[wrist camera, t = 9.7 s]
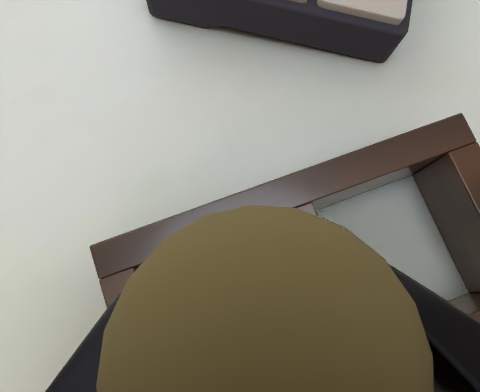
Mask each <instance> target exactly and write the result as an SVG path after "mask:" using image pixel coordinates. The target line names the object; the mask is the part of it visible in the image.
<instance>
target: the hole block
mask: <svg viewBox="0 0 480 392" xmlns="http://www.w3.org/2000/svg"><path fill="white" fill-rule="evenodd" d="M413 174H414V175H413ZM410 175H413V176H414V178H415V180H416V182H417V184H418V186H419V189H420V191H421V193H422V195H423V197H424V199H425V201H426V203H427V205H428V207H429V209H430V212H431V214H432V216H433V218H434V220H435V222H436V224H437V226H438V228H439V230H440V232H441V234H442V237H443V239H444V241H445V243H446V245H447V247H448V249H449V251H450V253H451V255H452V257H453V259H454V262H455V264H456V266H457V268H458V270H459V272H460V274H461V276H462V278H463V280H464V282H465V285H466V287H467V289H468V291H469V292H470V293H468V294H465V295H463V296H460V297H458V298H455V299H453V300H450V301H448V302H449V303H451V304H453V305H454V306H456V307H457V308H459V309H460V310H462V311H464V312H465V313H467V314H468V315H470V316H471V317H473V318H475V319H476V320H478V321H479V322H480V146H479V144H478V143H477V142H476V139H475V137H474V135H473V133H472V131H471V129H470V127H469V125H468V124H467V122H466V120H465V118H464V116H463V114H462V113H459V114H457V115H454V116H451V117H448V118H445V119H443V120H440V121H437V122H434V123H431V124H429V125H426V126H423V127H420V128H417V129H415V130H412V131H409V132H406V133H403V134H401V135H398V136H395V137H392V138H390V139H387V140H384V141H381V142H378V143H376V144H373V145H370V146H367V147H364V148H362V149H359V150H356V151H353V152H350V153H348V154H345V155H342V156H339V157H336V158H334V159H331V160H328V161H325V162H322V163H320V164H317V165H314V166H311V167H308V168H306V169H303V170H300V171H297V172H294V173H292V174H289V175H286V176H283V177H280V178H278V179H275V180H272V181H269V182H266V183H264V184H261V185H258V186H255V187H253V188H250V189H247V190H244V191H241V192H239V193H236V194H233V195H230V196H227V197H225V198H222V199H219V200H216V201H213V202H211V203H208V204H205V205H202V206H199V207H197V208H194V209H191V210H188V211H185V212H183V213H180V214H177V215H174V216H171V217H169V218H166V219H163V220H160V221H157V222H155V223H152V224H149V225H146V226H143V227H141V228H138V229H135V230H132V231H129V232H127V233H124V234H121V235H118V236H115V237H113V238H110V239H107V240H104V241H102V242H99V243H96V244H93V245H91V246H90V250H91V254H92V257H93V261H94V264H95V267H96V271H97V274H98V278H99V279H100V280H99V282H100V285H101V289H102V292H103V296H104V299H105V303H106V306H107V308H108V307H109V306H110V304H111V303H112V302H113V300H114V299H115V297H116V296H117V295H118V293H119V292H121V291H122V290H123V288H124V286H125V284H126V282H127V280H128V279H129V278H130V276H131V275H132V274H133V273H134V272H135V271H136V270H137V269H138V267H139V266H140V265H141V264H142V263H143V262H144V261H145V260H146V258H147V257H148V256H149V255H150V254H151V253H152V252H153V251H154V249H155V248H156V247H157V246H158V245H159V244H160V243H161V242H162V241H163V240H164V239H166V238H168V237H169V236H171V235H172V234H174V233H176V232H177V231H179V230H181V229H182V228H184V227H186V226H187V225H189V224H191V223H192V222H194V221H196V220H197V219H199V218H201V217H202V216H205V215H209V214H213V213H217V212H221V211H226V210H230V209H234V208H238V207H242V206H246V205H258V206H273V207H287V208H297V209H300V210H302V211H305V212H307V213H310V214H312V215H315V216H317V217H318V215H317V213H316V211H315V210H318V209H320V208H323V207H326V206H328V205H331V204H334V203H337V202H339V201H342V200H345V199H348V198H350V197H353V196H356V195H358V194H361V193H364V192H367V191H369V190H372V189H375V188H377V187H380V186H383V185H386V184H388V183H391V182H394V181H396V180H399V179H402V178H405V177H407V176H410Z"/></svg>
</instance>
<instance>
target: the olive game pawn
mask: <svg viewBox="0 0 480 392" xmlns="http://www.w3.org/2000/svg"><path fill="white" fill-rule="evenodd" d="M96 389H97V392H434V376H433V355H432V352H431V349H430V346H429V343H428V340H427V337H426V334H425V331H424V328H423V325H422V322H421V319H420V316H419V313H418V310H417V307H416V304H415V302H414V300H413V299H412V298H411V296H410V295H409V293H408V292H407V290H406V289H405V288H404V286H403V285H402V283H401V282H400V280H399V279H398V277H397V276H396V275H395V273H394V272H393V270H392V269H391V267H390V266H389V265H388V263H387V262H386V260H385V259H384V258H383V257H381V256H380V255H379V254H378V253H376V252H375V251H374V250H373V249H371V248H370V247H369V246H368V245H366V244H365V243H364V242H363V241H361V240H360V239H359V238H358V237H356V236H355V235H354V234H353V233H351V232H350V231H349V230H348V229H346V228H345V227H343V226H340V225H338V224H335V223H333V222H330V221H328V220H325V219H322V218H320V217H317V216H315V215H312V214H310V213H307V212H305V211H302V210H300V209H297V208H287V207H273V206H258V205H246V206H242V207H238V208H234V209H230V210H226V211H221V212H217V213H213V214H209V215H205V216H202V217H201V218H199V219H197V220H196V221H194V222H192V223H191V224H189V225H187V226H186V227H184V228H182V229H181V230H179V231H177V232H176V233H174V234H172V235H171V236H169V237H168V238H166V239H164V240H163V241H162V242H161V243H160V244H159V245H158V246H157V247H156V248H155V249H154V251H153V252H152V253H151V254H150V255H149V256H148V257H147V258H146V260H145V261H144V262H143V263H142V264H141V265H140V266H139V267H138V269H137V270H136V271H135V272H134V273H133V274H132V275H131V276H130V278H129V279H128V280H127V282H126V284H125V286H124V288H123V291H122V293H121V295H120V297H119V299H118V301H117V304H116V306H115V308H114V310H113V312H112V314H111V317H110V319H109V321H108V323H107V325H106V327H105V330H104V335H103V342H102V349H101V356H100V363H99V370H98V377H97V384H96Z"/></svg>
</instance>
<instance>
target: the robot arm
mask: <svg viewBox="0 0 480 392" xmlns="http://www.w3.org/2000/svg"><path fill="white" fill-rule="evenodd" d="M388 265H389V264H388ZM389 266H390V267H391V269H392V270H393V272H394V273H395V275H396V276H397V277H398V279H399V280H400V282H401V283H402V285H403V286H404V288H405V289H406V290H407V292H408V293H409V295H410V296H411V298H412V299H413V300H414V302H415V304H416V307H417V310H418V313H419V316H420V319H421V322H422V325H423V328H424V331H425V334H426V337H427V340H428V343H429V346H430V349H431V352H432V355H433V376H434V392H480V322H479V321H478V320H476V319H475V318H473V317H471V316H470V315H468V314H467V313H465V312H464V311H462V310H460V309H459V308H457V307H456V306H454V305H453V304H451V303H449V302H448V301H446V300H445V299H443V298H441V297H440V296H438V295H437V294H435V293H434V292H432V291H430V290H429V289H427V288H426V287H424V286H423V285H421V284H419V283H418V282H416V281H415V280H413V279H411V278H410V277H408V276H407V275H405V274H404V273H402V272H400V271H399V270H397V269H396V268H394V267H393V266H391V265H389ZM122 291H123V290H122ZM122 291H121V292H119V293H118V295H117V296H116V297H115V299H114V300H113V302H112V303H111V304H110V306H109V307H108V308H107V310H106V311H105V312H104V314H103V315H102V316H101V318H100V319H99V320H98V322H97V323H96V324H95V326H94V327H93V328H92V330H91V331H90V332H89V334H88V335H87V336H86V338H85V339H84V340H83V342H82V343H81V344H80V346H79V347H78V348H77V350H76V351H75V352H74V354H73V355H72V357H71V358H70V359H69V361H68V362H67V363H66V365H65V366H64V367H63V369H62V370H61V371H60V373H59V374H58V375H57V377H56V378H55V379H54V381H53V382H52V383H51V385H50V386H49V387H48V389H47V390H46V391H45V392H97V389H96V384H97V377H98V370H99V363H100V356H101V349H102V342H103V335H104V330H105V327H106V325H107V323H108V321H109V319H110V317H111V314H112V312H113V310H114V308H115V306H116V304H117V301H118V299H119V297H120V295H121V293H122Z"/></svg>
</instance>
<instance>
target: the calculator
mask: <svg viewBox="0 0 480 392" xmlns="http://www.w3.org/2000/svg"><path fill="white" fill-rule="evenodd" d="M146 1H147V5H148V9H149V12H150V13H151V14H152V15H154V16H157V17H161V18H165V19H170V20H174V21H178V22H182V23H187V24H191V25H195V26H200V27H204V28H208V27H214V26H225V27H230V28H234V29H238V30H243V31H247V32H251V33H255V34H260V35H264V36H268V37H273V38H277V39H281V40H285V41H290V42H294V43H298V44H302V45H307V46H311V47H315V48H320V49H324V50H328V51H332V52H337V53H341V54H345V55H350V56H354V57H358V58H362V59H367V60H371V61H375V62H384V61H386V60H387V58H388V57H389V56H390V55H391V53H392V52H393V51H394V49H395V48H396V47H397V46H398V44H399V43H400V42H401V40H402V39H403V38H404V36H405V35H406V34H407V32H408V28H409V21H410V14H411V7H412V0H146Z"/></svg>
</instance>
